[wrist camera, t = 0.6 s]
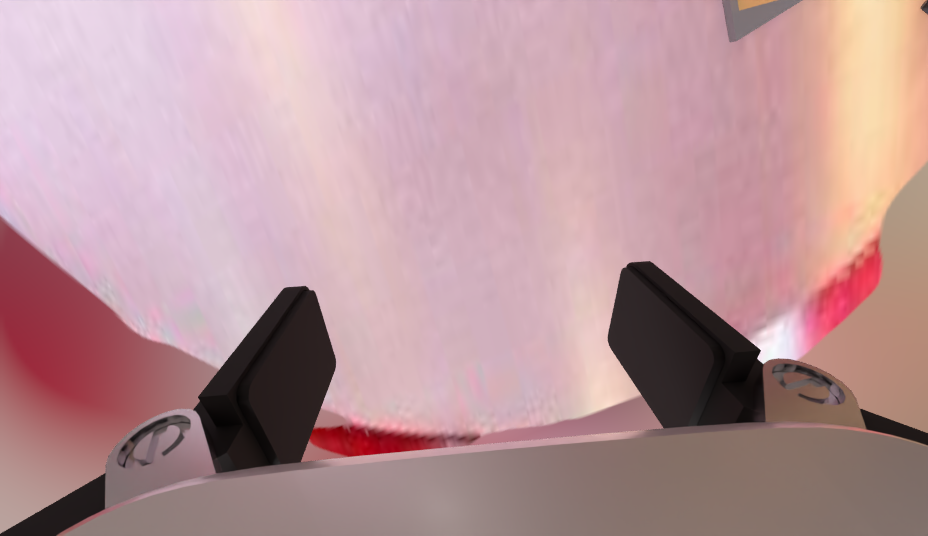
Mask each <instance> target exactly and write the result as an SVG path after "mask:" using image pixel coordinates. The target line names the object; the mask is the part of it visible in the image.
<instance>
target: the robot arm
mask: <svg viewBox="0 0 928 536" xmlns="http://www.w3.org/2000/svg"><path fill="white" fill-rule="evenodd" d="M608 343H609V346H610V348H611V350H612V351H613V353H614V354H615V356H616V357H617V359H618V360H619V362H620V363H621V365H622V366H623V368H624V369H625V371H626V372H627V374H628V375H629V377H630V378H631V380H632V381H633V383H634V384H635V386H636V387H637V389H638V390H639V392H640V393H641V395H642V396H643V398H644V399H645V401H646V402H647V404H648V405H649V407H650V408H651V410H652V411H653V413H654V414H655V416H656V417H657V419H658V420H659V421H660V423H661V425H662V426H663V428H664V429H653V430H642V431H630V432H618V433H606V434H594V435H583V436H571V437H560V438H549V439H538V440H526V441H515V442H505V443H493V444H482V445H471V446H460V447H450V448H439V449H428V450H418V451H408V452H397V453H387V454H377V455H366V456H356V457H346V458H335V459H326V460H317V461H308V462H301V460H302V457H303V454H304V451H305V449H306V446H307V444H308V441H309V438H310V436H311V433H312V430H313V428H314V425H315V422H316V420H317V417H318V414H319V411H320V409H321V406H322V403H323V401H324V398H325V395H326V393H327V390H328V387H329V385H330V382H331V379H332V377H333V374H334V371H335V368H336V359H335V355H334V352H333V348H332V345H331V342H330V339H329V335H328V332H327V329H326V325H325V322H324V319H323V316H322V312H321V309H320V306H319V303H318V299H317V296H316V293H315V292H314V291H313V290H309V289H308V287H306V286H299V287H286V288H284V289H283V290H282V291H281V292H280V294H279V295H278V296H277V298H276V299H275V300H274V301H273V303H272V304H271V305H270V306H269V308H268V309H267V310H266V311H265V313H264V314H263V315H262V317H261V318H260V319H259V320H258V322H257V323H256V324H255V325H254V327H253V328H252V329H251V331H250V332H249V333H248V334H247V336H246V337H245V338H244V339H243V341H242V342H241V343H240V344H239V346H238V347H237V348H236V350H235V351H234V352H233V353H232V355H231V356H230V357H229V358H228V360H227V361H226V362H225V363H224V365H223V366H222V367H221V369H220V370H219V371H218V372H217V374H216V375H215V376H214V377H213V379H212V380H211V381H210V383H209V384H208V385H207V386H206V388H205V389H204V390H203V391H202V393H201V394H200V395H199V396H198V398H199V400H200V402H199V403H198V405H197V406H196V407H195V408H194V410H190V409H177V410H172V411H169V412H165V413H163V414H160V415H158V416H155V417H153V418H151V419H149V420H147V421H146V422H144V423H142V424H140V425H139V426H137V427H136V428H135V429H133V430H132V431H131V432H129V433H128V434H127V435H126V436H125V437H124V438H123V439H122V440H121V441H120V442H119V443H118V444H117V445H116V446H115V447H114V449H113V450H112V452H111V453H110V455H109V456H108V459H107V463H106V473H105V474H103V475H101V476H100V477H98V478H96V479H94V480H93V481H91V482H89V483H88V484H86V485H84V486H82V487H81V488H79V489H77V490H75V491H74V492H72V493H70V494H68V495H67V496H65V497H63V498H61V499H60V500H58V501H56V502H55V503H53V504H51V505H49V506H48V507H46V508H44V509H42V510H41V511H39V512H37V513H35V514H34V515H32V516H30V517H28V518H27V519H25V520H23V521H22V522H20V523H18V524H16V525H15V526H13V527H11V528H10V529H8V530H6V531H4V532H2V533H1V534H0V536H928V433H925V432H923V431H920V430H917V429H915V428H912V427H909V426H906V425H904V424H901V423H898V422H895V421H893V420H890V419H887V418H884V417H882V416H879V415H876V414H873V413H871V412H868V411H865V410H863V409H860V408H859V405H858V403H857V400H856V398H855V396H854V394H853V393H852V391H851V390H850V389H849V388H848V387H847V386H846V385H845V384H844V383H843V382H841V381H840V380H838V379H836V378H835V377H834V376H832V375H831V374H829V373H827V372H825V371H823V370H821V369H819V368H817V367H814V366H812V365H809V364H806V363H803V362H799V361H795V360H791V359H779V358H778V359H772V360H769V361H767V362H766V363H764V364H762V363H761V362H760V361H759V360H758V359H757V357H758V355H759V353H760V351H761V350H760V349H759V348H758V347H756V346H755V345H754V344H753V343H751V342H750V341H749V340H748V339H746V338H745V337H744V336H743V335H741V334H740V333H739V332H738V331H736V330H735V329H734V328H733V327H731V326H730V325H729V324H728V323H726V322H725V321H724V320H723V319H722V318H720V317H719V316H718V315H717V314H715V313H714V312H713V311H712V310H710V309H709V308H708V307H707V306H705V305H704V304H703V303H702V302H700V301H699V300H698V299H697V298H695V297H694V296H693V295H692V294H690V293H689V292H688V291H687V290H686V289H684V288H683V287H682V286H681V285H679V284H678V283H677V282H676V281H674V280H673V279H672V278H671V277H669V276H668V275H667V274H666V273H664V272H663V271H662V270H661V269H659V268H658V267H657V266H656V265H654V264H653V263H652V262H650V261H646V262H632V263H629V264H628V265H627V266H626V268H623V269H622V271H621V274H620V279H619V284H618V289H617V294H616V299H615V304H614V308H613V313H612V318H611V323H610V328H609V333H608Z"/></svg>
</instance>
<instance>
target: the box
mask: <svg viewBox="0 0 928 536" xmlns="http://www.w3.org/2000/svg"><path fill="white" fill-rule="evenodd" d="M921 9H922V10H923V11H924V12H925V13H927V14H928V0H927V1H926V2H925V3H924V4H923V5H922V7H921Z"/></svg>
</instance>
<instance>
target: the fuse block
mask: <svg viewBox="0 0 928 536" xmlns="http://www.w3.org/2000/svg"><path fill="white" fill-rule="evenodd" d="M722 1H723V7H724V13H725V19H726V24H727V30H728V36H729V41H730V42H734V41H737V40H739V39H741V38H742V37H744V36H745V35H747V34H749V33H750V32H752V31H753V30H755V29H757V28H758V27H760V26H762V25H763V24H765V23H766V22H768V21H770V20H771V19H773V18H775V17H776V16H778V15H779V14H781V13H783V12H784V11H786V10H787V9H789V8H791V7H792V6H794V5H796V4H797V3H799V2H800V1H802V0H722Z"/></svg>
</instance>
